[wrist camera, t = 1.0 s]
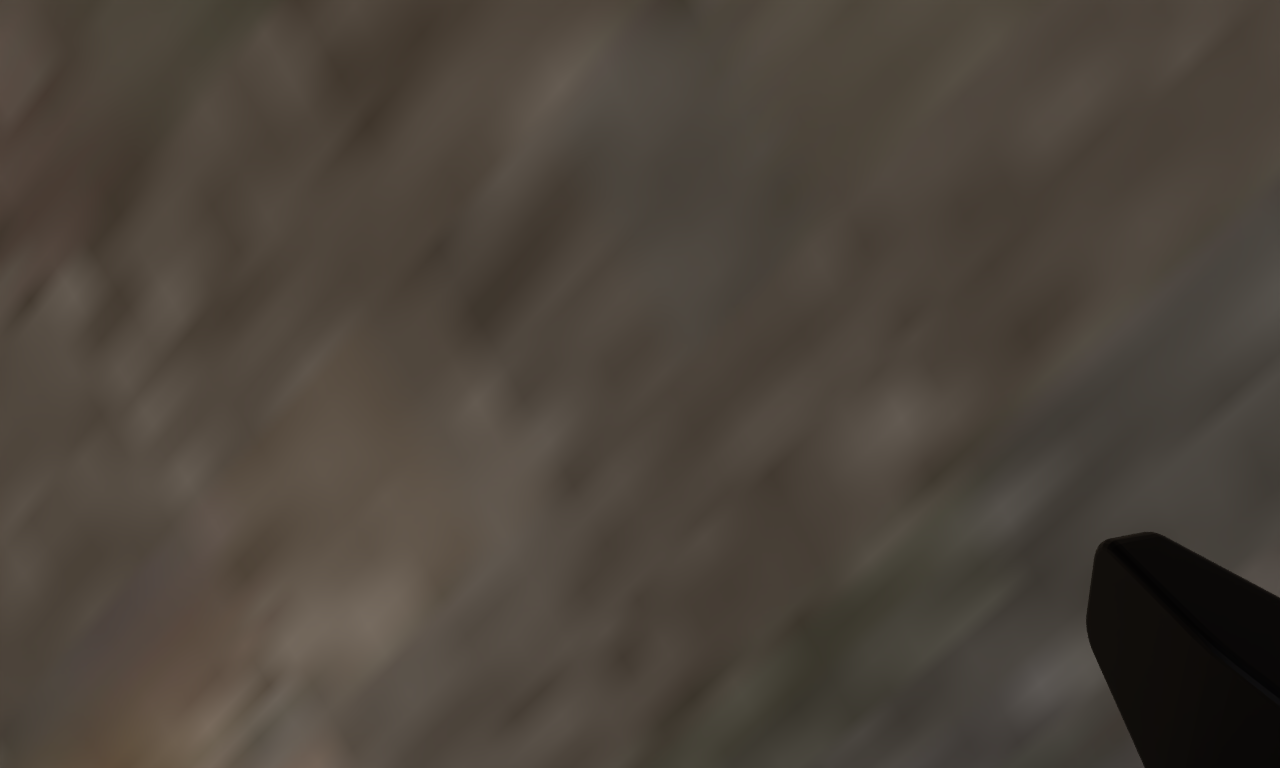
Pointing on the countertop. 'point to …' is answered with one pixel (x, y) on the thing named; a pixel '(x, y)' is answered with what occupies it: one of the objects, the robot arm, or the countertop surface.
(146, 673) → the countertop surface
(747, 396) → the countertop surface
